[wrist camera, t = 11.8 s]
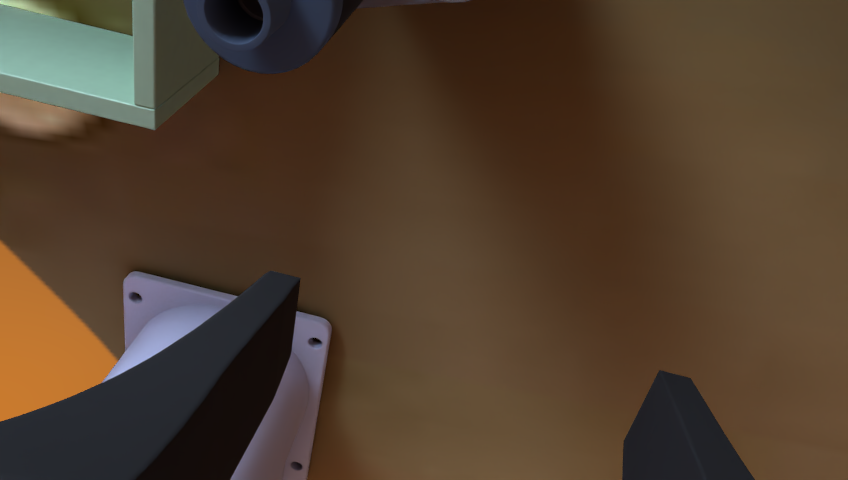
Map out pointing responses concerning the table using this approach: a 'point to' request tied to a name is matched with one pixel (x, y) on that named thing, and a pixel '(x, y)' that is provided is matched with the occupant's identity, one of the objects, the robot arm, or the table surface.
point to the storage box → (107, 63)
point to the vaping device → (275, 28)
